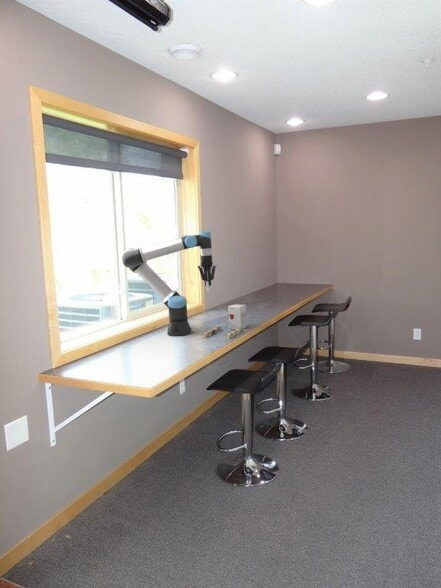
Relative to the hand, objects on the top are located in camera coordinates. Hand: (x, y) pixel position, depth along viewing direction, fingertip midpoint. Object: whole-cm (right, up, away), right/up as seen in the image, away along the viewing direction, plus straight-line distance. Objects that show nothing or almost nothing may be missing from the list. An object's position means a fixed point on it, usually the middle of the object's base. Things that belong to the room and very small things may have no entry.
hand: (208, 290), depth 308 cm
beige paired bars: (+10, -27, -22) cm, 36 cm away
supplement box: (+19, -25, -6) cm, 32 cm away
